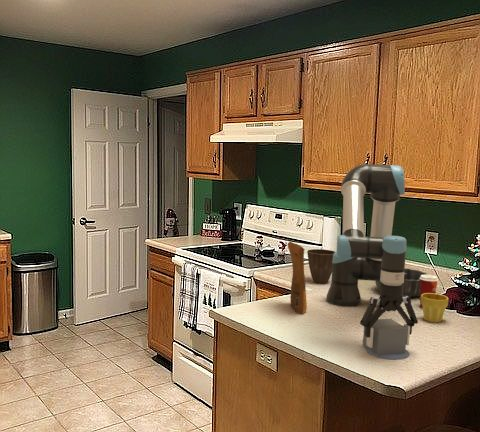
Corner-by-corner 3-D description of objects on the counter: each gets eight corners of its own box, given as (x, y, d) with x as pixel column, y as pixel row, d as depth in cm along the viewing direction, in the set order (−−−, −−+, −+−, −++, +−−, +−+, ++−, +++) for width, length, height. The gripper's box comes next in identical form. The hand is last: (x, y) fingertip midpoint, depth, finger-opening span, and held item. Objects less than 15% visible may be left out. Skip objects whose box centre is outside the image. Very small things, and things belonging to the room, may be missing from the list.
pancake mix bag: (293, 315, 211) (296, 247, 207) (284, 302, 230) (287, 239, 226) (309, 315, 211) (312, 247, 208) (299, 302, 230) (302, 239, 227)
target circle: (358, 345, 180) (358, 344, 180) (394, 342, 183) (394, 342, 183) (379, 361, 166) (379, 360, 166) (417, 358, 170) (417, 357, 170)
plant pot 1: (308, 277, 277) (309, 248, 275) (336, 280, 273) (338, 250, 271) (303, 284, 263) (305, 253, 261) (333, 287, 259) (335, 255, 257)
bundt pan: (441, 296, 249) (442, 275, 248) (406, 303, 234) (407, 282, 233) (395, 283, 270) (397, 265, 269) (361, 290, 255) (362, 270, 254)
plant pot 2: (443, 325, 204) (445, 301, 203) (416, 320, 209) (418, 296, 208) (448, 319, 213) (450, 295, 212) (422, 314, 218) (424, 291, 217)
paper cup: (437, 310, 224) (439, 278, 222) (418, 309, 225) (421, 277, 224) (434, 305, 232) (436, 274, 230) (416, 304, 233) (418, 273, 231)
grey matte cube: (362, 344, 181) (364, 319, 180) (389, 342, 183) (390, 318, 182) (377, 355, 171) (379, 329, 170) (405, 353, 173) (407, 328, 172)
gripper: (362, 287, 165) (359, 351, 168) (431, 284, 172) (426, 346, 174) (352, 281, 173) (348, 343, 175) (418, 279, 179) (414, 338, 181)
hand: (387, 345), depth 175 cm, fingers open, 13 cm apart
